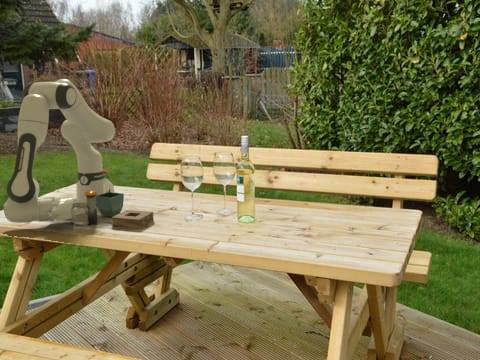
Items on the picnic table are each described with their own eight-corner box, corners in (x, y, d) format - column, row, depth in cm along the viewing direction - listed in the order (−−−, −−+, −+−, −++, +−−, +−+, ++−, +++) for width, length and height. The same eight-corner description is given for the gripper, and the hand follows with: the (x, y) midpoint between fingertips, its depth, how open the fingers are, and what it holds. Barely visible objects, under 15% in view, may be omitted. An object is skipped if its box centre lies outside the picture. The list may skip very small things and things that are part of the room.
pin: (90, 222, 219) (88, 190, 216) (101, 222, 218) (99, 191, 215) (84, 225, 214) (81, 192, 212) (94, 226, 213) (92, 193, 210)
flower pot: (95, 216, 227) (94, 195, 226) (109, 211, 235) (108, 191, 233) (111, 219, 223) (110, 197, 222) (125, 214, 231) (124, 193, 229)
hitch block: (127, 219, 222) (126, 209, 222) (153, 221, 219) (153, 211, 218) (112, 227, 211) (111, 217, 210) (139, 229, 208) (139, 219, 207)
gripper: (45, 208, 201) (83, 206, 204) (51, 196, 220) (86, 194, 223) (46, 224, 202) (84, 222, 205) (52, 211, 221) (87, 209, 224)
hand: (85, 207), depth 214 cm, fingers open, 8 cm apart
